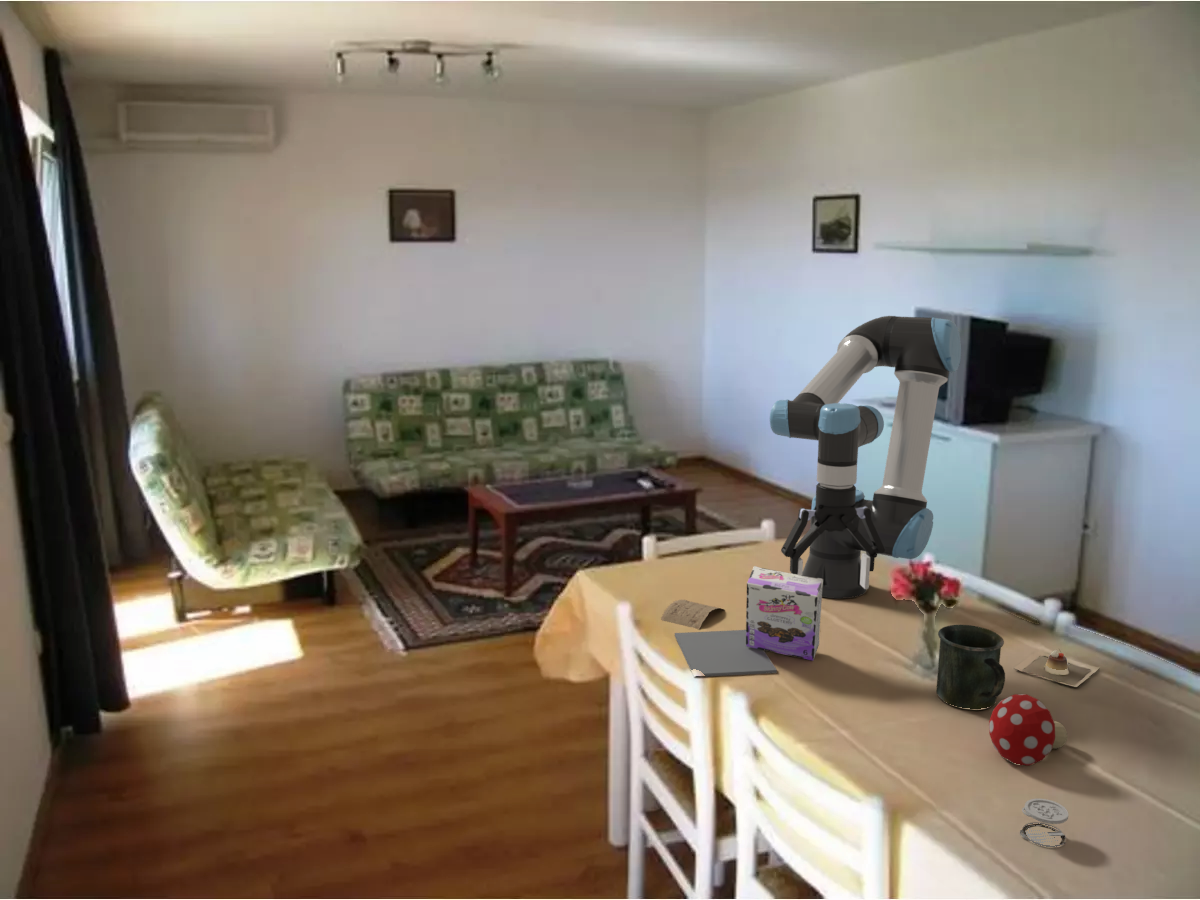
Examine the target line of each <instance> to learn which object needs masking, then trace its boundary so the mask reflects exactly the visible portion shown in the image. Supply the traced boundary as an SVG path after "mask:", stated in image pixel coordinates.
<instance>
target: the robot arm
mask: <svg viewBox="0 0 1200 900" xmlns="http://www.w3.org/2000/svg"><path fill="white" fill-rule="evenodd" d="M961 358H962V342H961V335H960V331H959V328H958V326H957V324H956V323H955V322H954V321H952V320H951V319H947V318H940V317H939V318H937V317H934V316H933V317H923V316H922V317H921V316H919V317H917V316H896V315H884V316H880V317H877V318H874V319H871V320H869V321H866V322H864V323H862V324H861V325H858V326H857V327H855V328H854V329H853V330H851V331H850V332H849V333H847V334H846V335H845V336H844V337H843V338H842V339H841V340H840V342H839V343H838V345H837V350H836V353H835V354H834V355H833V356H832V357H831V358H830V359H829V360H828V362H827V363H826V364H825V365H824V366H823V367H822V368H821V369H820V370H819V371H818V372H817V374H815V376H814V377H813V378H812V379H811V380H810V381H809V382H808V383H807V385H806V386H805V387H804V388H803V389H802V390H801V391H800V392H799V393H798V395H797V396H795V398H794V399H792V400H790V399H779V400H777V401H775V402H774V403H773V405H772V407H771V409H770V413H769V425H770V430H771V431H772V433H773V434H775V435H777V436H780V437H781V436H782V437H787V438H789V439H791V438H792V439H800V440H801V439H802V440H808V441H809V440H811V441H818V444H817V448H818V449H817V466H816V481H817V482H818V483H817V484H816V485H815V486H816V488H815V495H814V496H813V498H812V501H811V509H807V508H806V509H805V508H804V507H800V508H799V509H798V515H797V519H796V521H795V522H794V525H793V527H792V528H791V530H790V532H789V534H788V536H787V538H786V540H785V541H784V543H783V545H782V547H781V551H780V552H781V553H782V554H783V555H784V557H786V558H789V559H790V560H789V561H790V562H789V573H791V574H797V575H802V576H807V577H812V578H821V579H823V587H822V598H829V599H852V598H857V597H861V596H863V595H864V594H865V593H866V592H867V590H868V589H869V588H870V587H869V586H870V572H874V569H875V558H877V557H878V555H882V556H888V557H892V558H894V559H895V558H896V559H899V558H900V559H907V560H913V559H917V557H920V556H921V555H922V553H923V552H924V550H925V549H926V547H927V545H928V543H929V540H930V537H931V535H932V530H933V527H934V514H933V511H932V510H930V508H928V507H927V505H928V500H927V498H926V497H925V496H924V495H923V487H924V486H923V485H924V478H925V473H926V468H927V461H928V456H929V451H930V450H929V449H930V444H931V439H932V431H933V427H934V426H933V425H934V420H935V413H936V409H937V402H938V396H939V390H940V387H942V385H944V384H945V383H947V382H948V380H949V374H953V373H955V372H957V371H958V369H959V366H960V364H961ZM875 367H876V368H877V367H887V368H888V367H889V368H894V372H893V374H894V376H895V377H896V378H897V380H898V381H899V385H898V389H897V397H896V401H895V408H894V415H893V420H892V425H891V426H892V427H891V432H890V437H889V444H888V450H887V455H886V461H885V468H884V472H883V473H884V474H883V479H882V484H881V486H880V487H879V488H878V489H877V490H875V491H874V492H873V495H872V496H873V497H872V500H870V499H866V498H865V497H866V496H865V494H864V491H863V490H859V489H857V487H856V486H855V484H857V479H858V477H857V476H858V459H859V458H858V457H859V448H860V447H863V446H865V445H868V444H872V443H873V442H874V441H875V440H876V439H878V438H880V436H881V435H882V433H883V432H884V431H883V430H884V427H885V419H884V417H883V415H882V413H881V412H880V411H879V409H877V408H876V407H875V406H871V405H858V406H857V405H855V404H852V403H845V402H843V403H842V402H841V401H842V399H843V398H844V397H845V396H846V394H847V393H848V392H849V391H850V390H851V389H852V388H853V386H854V385H855V384H856V382H858V380H859V379H860V378H861V377H862V375H864V374H867V373H869V372H871V371H873V370H874V369H875ZM809 521H810V522H809ZM808 522H809V523H810V527H809V529H808V531H807V532H806V533H805V534H804V535H803V536H802V534H803V532H804V530H806V529H805V528H806V526H807V525H808ZM801 536H802V538H801ZM800 538H801V539H800ZM807 549H809V553H808V557H807V559H806V562H805V564H804V559H802V557H801V556H802V555H803V554H804V553H805V552H806V551H807Z"/></svg>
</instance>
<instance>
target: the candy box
mask: <svg viewBox="0 0 1200 900" xmlns="http://www.w3.org/2000/svg"><path fill="white" fill-rule="evenodd" d="M822 587H823V579H821V578H812V577H807V576H802V575H797V574H792V573H791V572H785V571H780V570H776V569H769V568H764V567H759V566H756V565H754V566H753V567H752V570H751V573H750V575H749V577H748V580H747V582H746V602H745V603H746V605H745V606H746V608H745V609H746V611H745V612H746V616H745V622H746V623H745V630H746V646H747V647H751V648H756V649H761V650H764V651H765V652H766V651H767V652H772V653H776V654H781V655H784V656H790V657H794V658H799V659H802V660H809V661H813V662H814V660H815V657H816V654H817V650H818V649H819V645H820V629H821V618H822V617H821V616H822V615H821V614H822V602H823V600H822V599H823V597H822Z"/></svg>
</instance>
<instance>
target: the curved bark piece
mask: <svg viewBox="0 0 1200 900" xmlns="http://www.w3.org/2000/svg"><path fill="white" fill-rule="evenodd" d="M714 610H720V611H725V609H724V608H721V607H718V606H717V607H716V606H711V605H707V604H703V603H699V602H693V601H690V600H686V599H678V600H675V601H673V602H671V603H669V605H668V606H667V608H666V609H665V610H664V612H663V614H662V616H661V617H660V620H662V621H663V622H667V623H672V624H675V625H676V624H677V625H680V626H684V627H688V628H693V629H697V630H699V629H700V628H701V626H702V625H703V623H704V621H705V620H706V618H707V617H708V615H709V613H711V612H712V611H714Z"/></svg>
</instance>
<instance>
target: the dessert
mask: <svg viewBox="0 0 1200 900" xmlns="http://www.w3.org/2000/svg"><path fill="white" fill-rule="evenodd" d="M1058 650H1059V651H1058ZM1067 658H1068V657H1066V656H1065V654H1064V653H1063V652H1062V651H1061V650H1060V648H1058V649H1054V650H1053V651H1051V655H1049V658H1047V660H1046V663H1045V665H1046V666H1048V667H1049V668H1052V669H1056V670H1065V669H1067V668H1069V664H1068V663H1067Z"/></svg>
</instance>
